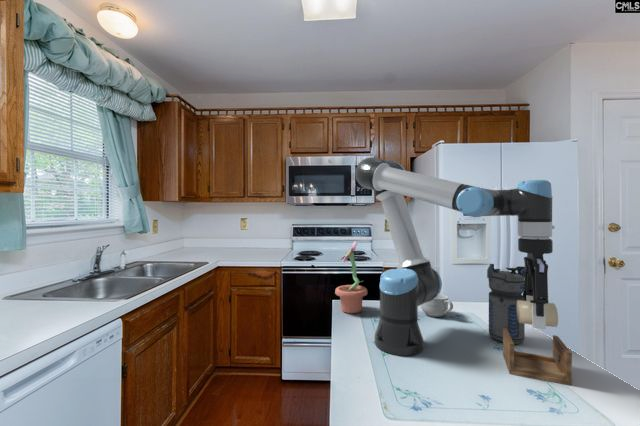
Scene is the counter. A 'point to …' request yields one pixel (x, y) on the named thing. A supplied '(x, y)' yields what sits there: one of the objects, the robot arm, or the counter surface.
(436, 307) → the teacup
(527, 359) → the holder
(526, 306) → the cylinder
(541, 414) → the counter surface
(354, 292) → the decorative flower
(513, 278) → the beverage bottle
